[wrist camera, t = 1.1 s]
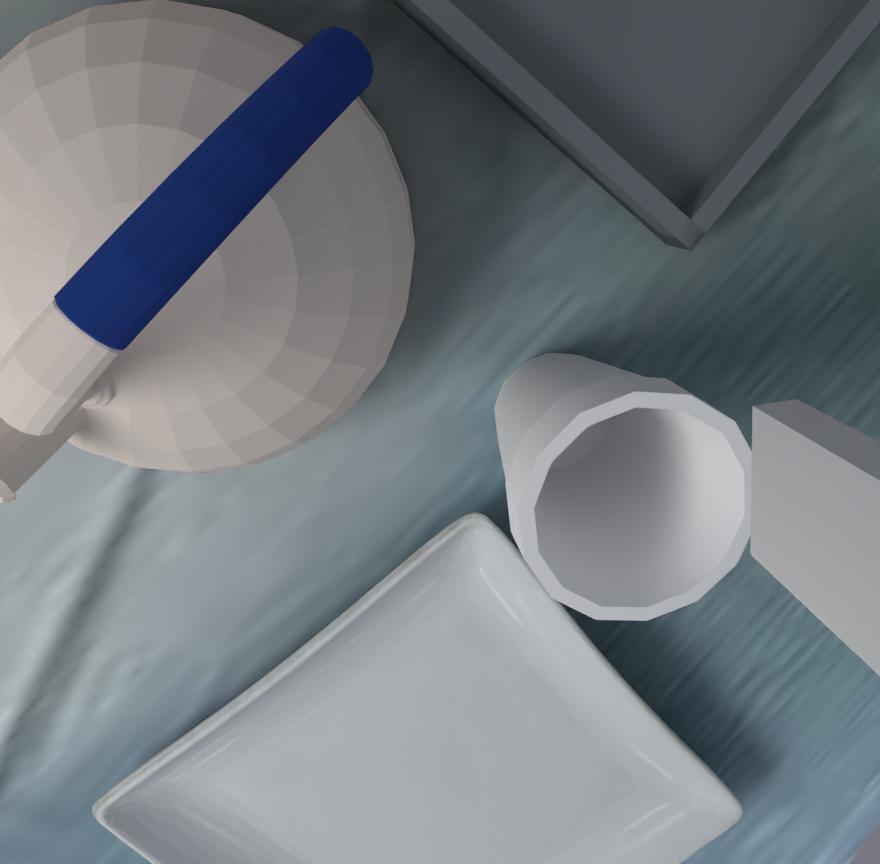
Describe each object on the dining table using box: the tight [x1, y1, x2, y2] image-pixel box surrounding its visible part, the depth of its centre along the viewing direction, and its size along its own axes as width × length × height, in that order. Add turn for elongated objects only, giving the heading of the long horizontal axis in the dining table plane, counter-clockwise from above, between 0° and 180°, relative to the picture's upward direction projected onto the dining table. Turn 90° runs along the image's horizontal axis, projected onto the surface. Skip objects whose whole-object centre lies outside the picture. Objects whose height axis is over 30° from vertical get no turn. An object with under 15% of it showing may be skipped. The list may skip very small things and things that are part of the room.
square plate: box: [92, 512, 744, 864], centre depth 48 cm, size 27×27×4 cm
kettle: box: [0, 0, 415, 503], centre depth 30 cm, size 20×21×18 cm
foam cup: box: [494, 352, 752, 621], centre depth 37 cm, size 10×9×13 cm
